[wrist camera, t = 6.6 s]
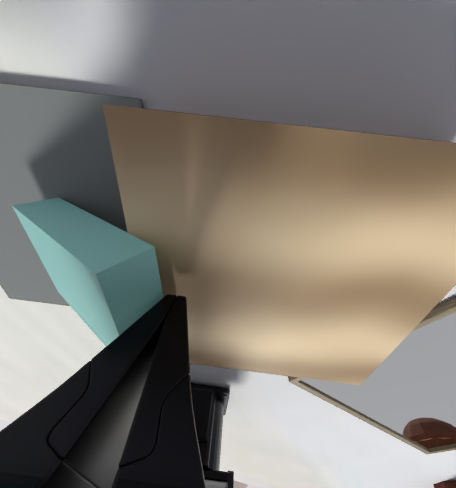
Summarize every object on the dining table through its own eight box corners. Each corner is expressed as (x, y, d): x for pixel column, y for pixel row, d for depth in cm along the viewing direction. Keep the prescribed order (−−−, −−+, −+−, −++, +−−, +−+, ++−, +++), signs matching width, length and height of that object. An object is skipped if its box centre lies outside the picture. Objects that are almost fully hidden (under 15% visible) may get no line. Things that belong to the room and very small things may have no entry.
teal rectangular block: (171, 345, 10) (136, 380, 9) (90, 276, 14) (57, 291, 13) (154, 246, 7) (96, 273, 6) (58, 197, 11) (11, 205, 10)
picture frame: (287, 371, 21) (421, 444, 28) (289, 381, 20) (427, 454, 27) (510, 262, 12) (618, 407, 20) (531, 272, 11) (636, 420, 19)
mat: (165, 313, 17) (163, 317, 16) (14, 295, 17) (9, 298, 16) (141, 99, 9) (137, 98, 9) (-136, 69, 9) (-151, 66, 9)
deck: (335, 331, 16) (360, 385, 13) (171, 310, 16) (152, 358, 13) (449, 146, 9) (576, 156, 6) (155, 113, 9) (102, 104, 6)
